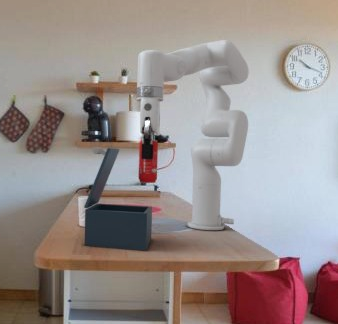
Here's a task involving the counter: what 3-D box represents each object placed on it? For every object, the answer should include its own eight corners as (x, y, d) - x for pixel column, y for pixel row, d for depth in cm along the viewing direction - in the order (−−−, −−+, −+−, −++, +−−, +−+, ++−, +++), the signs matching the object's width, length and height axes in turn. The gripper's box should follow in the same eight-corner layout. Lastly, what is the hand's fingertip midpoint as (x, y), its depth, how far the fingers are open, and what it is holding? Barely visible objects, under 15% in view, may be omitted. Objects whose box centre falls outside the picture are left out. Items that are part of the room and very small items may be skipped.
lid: (119, 149, 119) (103, 142, 120) (110, 148, 105) (91, 141, 106) (98, 202, 121) (82, 195, 122) (86, 208, 107) (68, 200, 109)
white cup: (97, 228, 133) (98, 199, 132) (75, 226, 134) (75, 198, 134) (101, 224, 140) (102, 196, 140) (80, 222, 142) (80, 195, 142)
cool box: (151, 239, 117) (152, 206, 117) (145, 250, 103) (146, 213, 103) (96, 235, 121) (97, 203, 121) (84, 245, 108) (85, 209, 107)
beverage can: (145, 183, 108) (146, 139, 107) (134, 181, 112) (136, 140, 112) (160, 182, 110) (161, 140, 110) (149, 181, 115) (150, 140, 114)
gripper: (161, 90, 101) (159, 159, 102) (165, 99, 118) (163, 159, 118) (132, 90, 103) (130, 159, 104) (140, 99, 120) (138, 158, 120)
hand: (148, 158), depth 111 cm, fingers closed on beverage can, 5 cm apart
